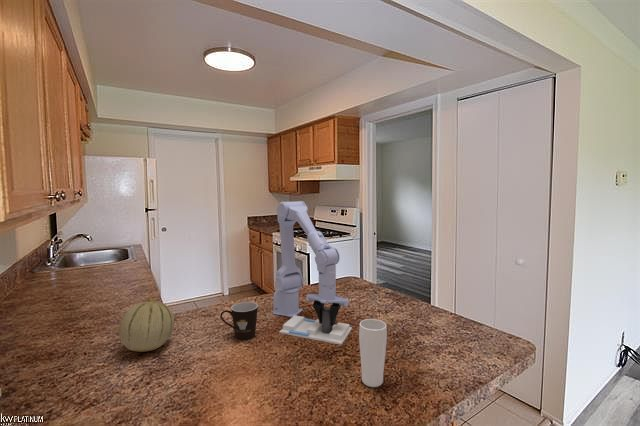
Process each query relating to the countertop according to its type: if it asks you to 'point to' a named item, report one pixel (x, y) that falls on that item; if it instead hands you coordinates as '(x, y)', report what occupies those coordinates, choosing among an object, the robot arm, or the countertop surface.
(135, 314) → the cantaloupe
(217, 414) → the countertop surface
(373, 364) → the drinking glass
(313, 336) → the white slotted board
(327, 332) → the dark grey rounded piece
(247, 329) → the coffee mug
